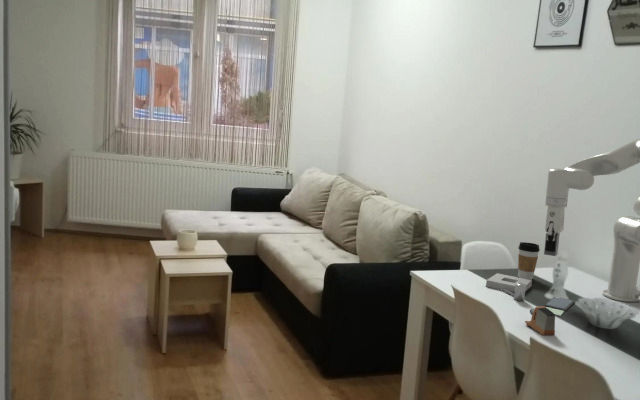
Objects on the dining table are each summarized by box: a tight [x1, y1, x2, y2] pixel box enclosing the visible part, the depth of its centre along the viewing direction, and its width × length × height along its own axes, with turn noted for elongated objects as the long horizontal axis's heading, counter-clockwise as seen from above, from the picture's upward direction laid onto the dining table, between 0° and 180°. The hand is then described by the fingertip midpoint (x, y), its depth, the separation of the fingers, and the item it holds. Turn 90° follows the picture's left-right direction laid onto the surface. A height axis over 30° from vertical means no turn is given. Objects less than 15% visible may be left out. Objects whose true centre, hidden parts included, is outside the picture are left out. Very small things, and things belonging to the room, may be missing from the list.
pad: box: [546, 307, 565, 317], centre depth 204 cm, size 6×6×1 cm
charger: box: [543, 232, 561, 257], centre depth 221 cm, size 4×4×8 cm
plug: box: [513, 283, 526, 303], centre depth 215 cm, size 4×4×6 cm
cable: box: [501, 289, 514, 298], centre depth 223 cm, size 8×1×1 cm, turn 19°
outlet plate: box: [485, 272, 533, 293], centre depth 233 cm, size 14×14×2 cm
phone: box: [544, 296, 575, 312], centre depth 214 cm, size 7×14×1 cm, turn 144°
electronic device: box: [524, 305, 556, 336], centre depth 185 cm, size 4×10×8 cm, turn 16°
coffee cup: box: [517, 241, 540, 281], centre depth 246 cm, size 8×8×15 cm
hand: (551, 249), depth 222 cm, fingers closed on charger, 4 cm apart
